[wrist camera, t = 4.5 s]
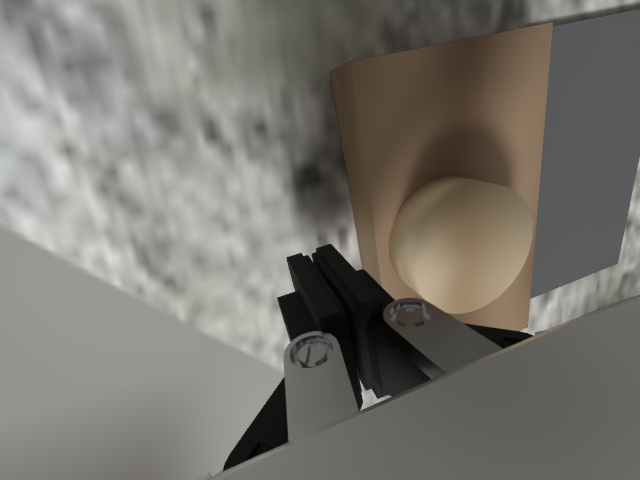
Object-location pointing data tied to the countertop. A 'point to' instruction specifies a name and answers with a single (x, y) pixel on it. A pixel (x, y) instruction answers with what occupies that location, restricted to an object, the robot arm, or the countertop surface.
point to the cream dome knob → (460, 242)
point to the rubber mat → (587, 148)
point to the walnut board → (444, 140)
